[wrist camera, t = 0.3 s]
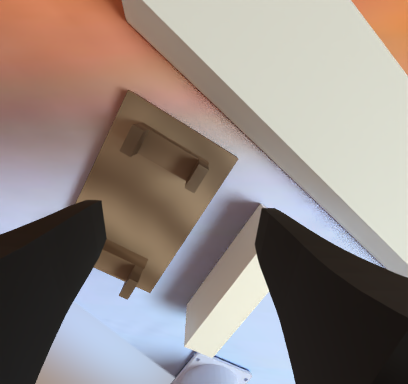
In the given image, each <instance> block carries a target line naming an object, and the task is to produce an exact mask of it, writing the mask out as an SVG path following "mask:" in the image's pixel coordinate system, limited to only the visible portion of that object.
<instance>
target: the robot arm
mask: <svg viewBox="0 0 408 384" xmlns="http://www.w3.org/2000/svg"><path fill="white" fill-rule="evenodd" d="M106 239H107V237H106V230H105V223H104V215H103V208H102V201H101V200H85V201H82V202H79V203H76V204H74V205H71V206H69V207H67V208H64V209H62V210H60V211H57V212H55V213H53V214H51V215H48V216H46V217H44V218H41V219H39V220H36V221H34V222H31V223H29V224H26V225H24V226H22V227H19V228H17V229H14V230H11V231H9V232H6V233H3V234H0V384H35V383H36V380H37V378H38V375H39V373H40V370H41V368H42V366H43V364H44V361H45V359H46V357H47V354H48V352H49V350H50V347H51V345H52V343H53V341H54V339H55V337H56V334H57V332H58V330H59V328H60V326H61V323H62V321H63V320H64V317H65V315H66V313H67V312H68V310H69V308H70V306H71V304H72V302H73V301H74V299H75V297H76V296H77V294H78V292H79V291H80V289H81V287H82V286H83V284H84V282H85V281H86V279H87V277H88V276H89V274H90V272H91V271H92V269H93V267H94V265H95V264H96V262H97V260H98V258H99V256H100V254H101V252H102V249H103V247H104V244H105V242H106ZM255 249H256V253H257V258H258V262H259V265H260V268H261V271H262V273H263V276H264V279H265V281H266V284H267V287H268V289H269V292H270V295H271V297H272V300H273V302H274V305H275V308H276V311H277V314H278V317H279V320H280V323H281V327H282V331H283V334H284V338H285V342H286V346H287V350H288V354H289V358H290V362H291V366H292V370H293V374H294V379H295V383H296V384H408V278H407V277H404V276H402V275H399V274H397V273H394V272H392V271H389V270H387V269H385V268H382V267H380V266H377V265H375V264H373V263H371V262H368V261H366V260H364V259H362V258H360V257H358V256H356V255H354V254H352V253H350V252H347V251H345V250H343V249H342V248H340V247H338V246H336V245H334V244H332V243H331V242H329V241H327V240H325V239H324V238H322V237H320V236H319V235H317V234H315V233H314V232H312V231H310V230H309V229H307V228H306V227H304V226H303V225H301V224H300V223H298V222H296V221H295V220H293V219H292V218H290V217H289V216H287V215H286V214H284V213H282V212H281V211H279V210H277V209H275V208H262V209H261V214H260V219H259V224H258V229H257V234H256V239H255ZM251 378H252V375H251V372H249V371H247V370H244V369H242V368H240V367H237V366H235V365H232V364H230V363H228V362H225V361H223V360H221V359H218V358H216V357H213V358H211V357H208V356H206V355H203V354H201V353H198V352H196V353H195V355H194V356H193V357H192V358H191V360H190V361H189V362H188V363H187V365H186V366H185V367H184V368H183V369H182V371H181V372H180V373H179V374H178V376H177V377H176V378H175V379H174V380H173V382H172V383H171V384H246V383H247V382H248V381H249V380H250V379H251Z"/></svg>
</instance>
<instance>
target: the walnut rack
mask: <svg viewBox="0 0 408 384" xmlns="http://www.w3.org/2000/svg"><path fill="white" fill-rule="evenodd" d="M237 160H238V158H237V157H236V156H235V155H233V154H231V153H230V152H228V151H227V150H225V149H223V148H222V147H220V146H219V145H217V144H215V143H214V142H212V141H211V140H209V139H207V138H206V137H204V136H203V135H201V134H199V133H198V132H196V131H195V130H193V129H191V128H190V127H188V126H187V125H185V124H183V123H182V122H180V121H179V120H177V119H175V118H174V117H172V116H171V115H169V114H168V113H166V112H164V111H163V110H161V109H160V108H158V107H156V106H155V105H153V104H152V103H150V102H148V101H147V100H145V99H144V98H142V97H140V96H139V95H137V94H136V93H134V92H132V91H130V90H128V92H127V94H126V96H125V98H124V100H123V102H122V105H121V107H120V109H119V111H118V113H117V115H116V118H115V120H114V122H113V124H112V126H111V128H110V130H109V133H108V135H107V137H106V139H105V141H104V143H103V145H102V148H101V150H100V152H99V154H98V156H97V158H96V161H95V163H94V165H93V167H92V169H91V171H90V173H89V176H88V178H87V180H86V182H85V184H84V186H83V188H82V191H81V193H80V195H79V197H78V199H77V201H76V203H79V202H82V201H85V200H101V201H102V208H103V215H104V223H105V230H106V237H107V239H106V242H105V244H104V247H103V249H102V252H101V254H100V256H99V258H98V260H97V262H96V264H95V265H94V268H96V269H98V270H101V271H103V272H105V273H107V274H109V275H112V276H114V277H116V278H118V279H120V280H122V281H125V283H124V285H123V288H122V290H121V292H120V294H119V296H121V297H123V298H125V299H127V300H128V298H129V297H130V295H131V293H132V292H133V290H134V289H135V287H138V288H140V289H142V290H144V291H147V292H149V293H150V292H151V291H152V289H153V288H154V286H155V285H156V283H157V282H158V280H159V279H160V277H161V276H162V274H163V273H164V271H165V270H166V268H167V267H168V265H169V264H170V262H171V260H172V259H173V257H174V256H175V254H176V253H177V251H178V250H179V248H180V247H181V245H182V244H183V242H184V241H185V239H186V238H187V236H188V235H189V233H190V232H191V230H192V229H193V227H194V226H195V224H196V223H197V221H198V220H199V218H200V216H201V215H202V213H203V212H204V210H205V209H206V207H207V206H208V204H209V203H210V201H211V200H212V198H213V197H214V195H215V194H216V192H217V191H218V189H219V188H220V186H221V185H222V183H223V182H224V180H225V179H226V177H227V175H228V174H229V172H230V171H231V169H232V168H233V166H234V165H235V163H236V162H237Z"/></svg>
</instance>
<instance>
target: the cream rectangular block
mask: <svg viewBox="0 0 408 384" xmlns="http://www.w3.org/2000/svg"><path fill="white" fill-rule="evenodd" d="M262 208H267V207H266V206H264V205H262V204H260V205H259V206H258V207H257V209H256V210H255V212H254V213H253V214H252V216H251V217H250V218H249V220H248V221H247V223H246V224H245V225H244V227H243V228H242V229H241V231H240V232H239V234H238V235H237V236H236V238H235V239H234V240H233V242H232V243H231V245H230V246H229V247H228V249H227V250H226V251H225V253H224V254H223V256H222V257H221V258H220V260H219V261H218V262H217V264H216V265H215V267H214V268H213V269H212V271H211V272H210V273H209V275H208V276H207V278H206V279H205V280H204V282H203V283H202V284H201V286H200V287H199V288H198V290H197V291H196V293H195V294H194V295H193V297H192V298H191V299H190V301H189V302H188V304H187V310H186V326H185V343H184V347H186V348H189V349H191V350H194V351H196V352H198V353H201V354H203V355H206V356H208V357H211V358H213V357H214V356H215V355H216V353H217V352H218V351H219V350H220V349H221V347H222V346H223V345H224V344H225V343H226V342H227V340H228V339H229V338H230V337H231V336H232V334H233V333H234V332H235V331H236V330H237V329H238V327H239V326H240V325H241V324H242V323H243V321H244V320H245V319H246V318H247V317H248V316H249V314H250V313H251V312H252V311H253V310H254V308H255V307H256V306H257V305H258V304H259V303H260V301H261V300H262V299H263V298H264V297H265V295H266V294H267V293H268V292H269V289H268V287H267V284H266V281H265V279H264V276H263V273H262V271H261V268H260V265H259V262H258V258H257V253H256V249H255V239H256V234H257V229H258V224H259V219H260V214H261V209H262Z"/></svg>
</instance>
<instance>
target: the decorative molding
mask: <svg viewBox="0 0 408 384" xmlns="http://www.w3.org/2000/svg"><path fill="white" fill-rule="evenodd" d="M122 4H123V9H124V13H125V17H126V20H127V22H128V23H129V24H130V25H131V26H132V27H133V28H134V29H135V30H136V31H137V32H138V33H140V34H141V35H142V36H143V37H144V38H145V39H146V40H147V41H148V42H149V43H150V44H151V45H152V46H153V47H154V48H155V49H156V50H157V51H158V52H159V53H161V54H162V55H163V56H164V57H165V58H166V59H167V60H168V61H169V62H170V63H171V64H172V65H173V66H174V67H175V68H176V69H177V70H178V71H179V72H180V73H182V74H183V75H184V76H185V77H186V78H187V79H188V80H189V81H190V82H191V83H192V84H193V85H194V86H195V87H196V88H197V89H198V90H199V91H200V92H201V93H203V94H204V95H205V96H206V97H207V98H208V99H209V100H210V101H211V102H212V103H213V104H214V105H215V106H216V107H217V108H218V109H219V110H220V111H221V112H223V113H224V114H225V115H226V116H227V117H228V118H229V119H230V120H231V121H232V122H233V123H234V124H235V125H236V126H237V127H238V128H239V129H240V130H241V131H243V132H244V133H245V134H246V135H247V136H248V137H249V138H250V139H251V140H252V141H253V142H254V143H255V144H256V145H257V146H258V147H259V148H260V149H261V150H262V151H263V152H265V153H266V154H267V155H268V156H269V157H270V158H271V159H272V160H273V161H274V162H275V163H276V164H277V165H278V166H279V167H280V168H281V169H282V170H283V171H284V172H285V173H286V174H288V175H289V176H290V177H291V178H292V179H293V180H294V181H295V182H296V183H297V184H298V185H299V186H300V187H301V188H302V189H303V190H304V191H305V192H306V193H308V194H309V195H310V196H311V197H312V198H313V199H314V200H315V201H316V202H317V203H318V204H319V205H320V206H321V207H322V208H323V209H324V210H325V211H326V212H328V213H329V214H330V215H331V216H332V217H333V218H334V219H335V220H336V221H337V222H338V223H339V224H340V225H341V226H342V227H343V228H344V229H345V230H346V231H347V232H348V233H350V234H351V235H352V236H353V237H354V238H355V239H356V240H357V241H358V242H359V243H360V244H361V245H362V246H363V247H364V248H365V249H366V250H367V251H368V252H369V253H370V254H372V255H373V256H374V257H375V258H376V259H377V260H378V261H379V262H380V263H381V264H382V265H383V266H384V267H385V268H386V269H387V270H389V271H392V272H394V273H397V274H399V275H402V276H404V277H407V278H408V76H407V74H406V73H405V72H404V70H403V69H402V68H401V66H400V65H399V64H398V62H397V61H396V60H395V58H394V57H393V56H392V54H391V53H390V52H389V50H388V49H387V48H386V46H385V45H384V44H383V42H382V41H381V40H380V38H379V37H378V36H377V34H376V33H375V32H374V30H373V29H372V28H371V26H370V25H369V24H368V22H367V21H366V20H365V18H364V17H363V16H362V14H361V13H360V12H359V10H358V9H357V8H356V6H355V5H354V4H353V2H352V1H351V0H122Z"/></svg>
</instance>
